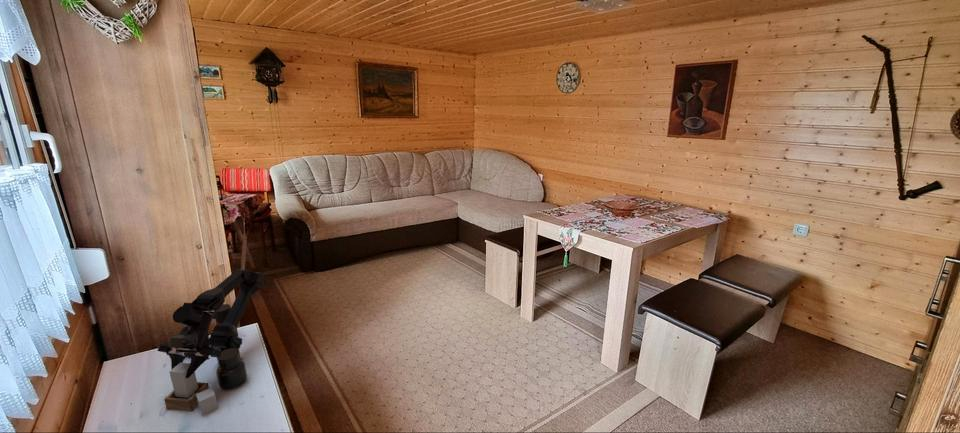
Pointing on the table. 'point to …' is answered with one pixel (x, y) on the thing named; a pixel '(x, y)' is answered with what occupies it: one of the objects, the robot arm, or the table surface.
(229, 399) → the table surface
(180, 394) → the light grey rectangular block
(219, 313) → the deodorant
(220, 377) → the ink bottle
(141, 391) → the table surface
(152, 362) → the table surface
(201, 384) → the walnut collar
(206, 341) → the pen holder
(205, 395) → the grey block
